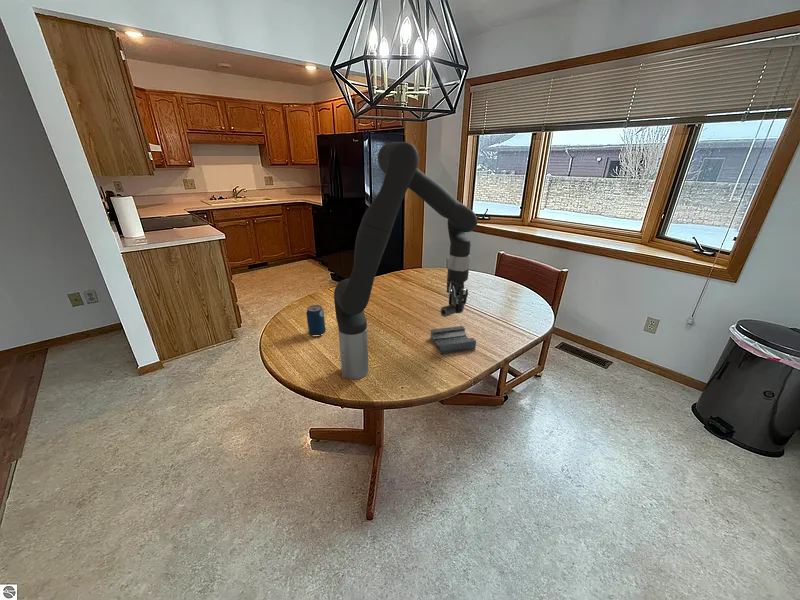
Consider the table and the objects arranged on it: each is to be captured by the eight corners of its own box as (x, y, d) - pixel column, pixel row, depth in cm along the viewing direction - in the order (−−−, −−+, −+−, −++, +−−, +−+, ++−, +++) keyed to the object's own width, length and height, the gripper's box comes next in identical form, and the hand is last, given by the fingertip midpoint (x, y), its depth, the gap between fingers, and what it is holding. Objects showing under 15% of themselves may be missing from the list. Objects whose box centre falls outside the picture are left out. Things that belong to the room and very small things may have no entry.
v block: (441, 354, 122) (442, 345, 121) (430, 338, 133) (430, 329, 132) (475, 349, 126) (476, 340, 124) (461, 334, 137) (462, 325, 135)
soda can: (329, 332, 137) (326, 307, 132) (317, 339, 132) (314, 313, 127) (317, 328, 141) (314, 303, 136) (305, 334, 135) (302, 309, 130)
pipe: (437, 315, 121) (438, 296, 118) (457, 306, 129) (459, 287, 126) (449, 321, 117) (451, 301, 114) (470, 311, 125) (472, 292, 122)
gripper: (441, 261, 122) (439, 302, 129) (456, 273, 109) (453, 318, 116) (459, 260, 124) (456, 300, 130) (477, 272, 111) (472, 315, 118)
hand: (454, 308), depth 123 cm, fingers closed on pipe, 6 cm apart
